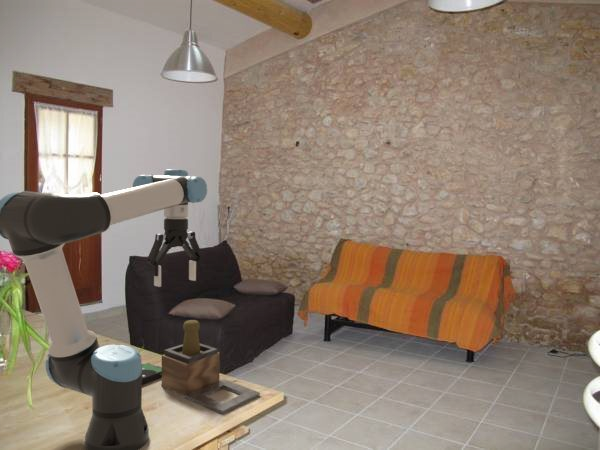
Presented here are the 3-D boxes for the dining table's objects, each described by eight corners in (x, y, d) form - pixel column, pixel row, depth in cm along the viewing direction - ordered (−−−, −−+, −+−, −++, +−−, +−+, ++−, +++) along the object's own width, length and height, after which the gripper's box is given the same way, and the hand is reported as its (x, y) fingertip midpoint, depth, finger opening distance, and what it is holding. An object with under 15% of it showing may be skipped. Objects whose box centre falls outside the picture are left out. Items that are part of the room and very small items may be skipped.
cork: (190, 358, 155) (190, 324, 154) (177, 354, 158) (178, 320, 158) (204, 353, 160) (204, 320, 159) (192, 349, 163) (192, 317, 162)
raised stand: (186, 396, 151) (186, 359, 150) (161, 385, 158) (161, 350, 157) (219, 382, 162) (219, 348, 161) (195, 372, 169) (195, 340, 168)
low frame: (222, 414, 140) (222, 410, 140) (185, 398, 149) (185, 394, 149) (259, 395, 153) (259, 392, 152) (223, 381, 162) (223, 378, 162)
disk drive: (130, 392, 154) (167, 376, 166) (130, 383, 154) (167, 368, 166) (110, 383, 160) (147, 369, 172) (110, 375, 159) (147, 361, 172)
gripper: (148, 220, 145) (148, 290, 147) (213, 217, 164) (212, 279, 166) (134, 218, 150) (134, 286, 152) (199, 215, 169) (198, 276, 171)
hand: (175, 283), depth 159 cm, fingers open, 13 cm apart
